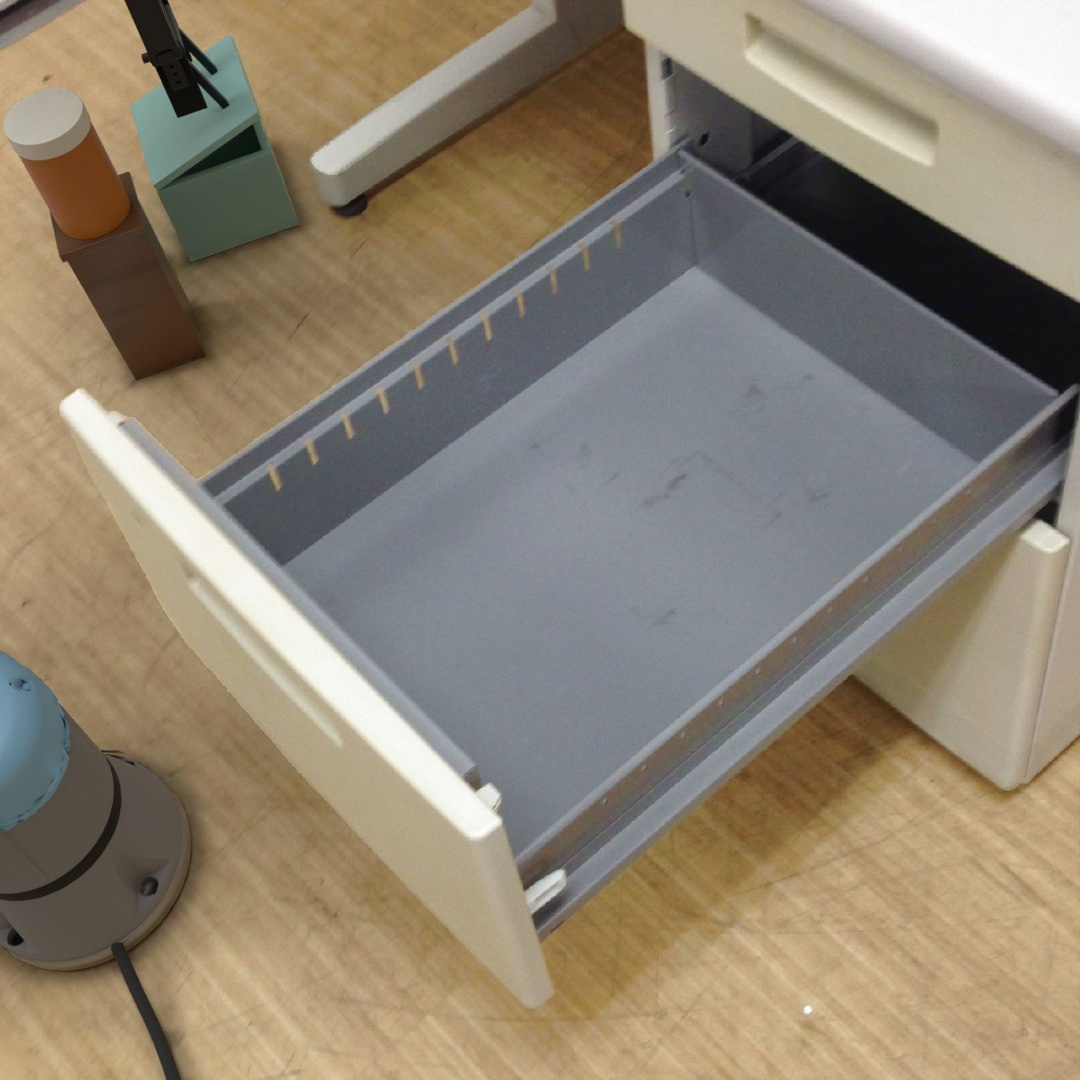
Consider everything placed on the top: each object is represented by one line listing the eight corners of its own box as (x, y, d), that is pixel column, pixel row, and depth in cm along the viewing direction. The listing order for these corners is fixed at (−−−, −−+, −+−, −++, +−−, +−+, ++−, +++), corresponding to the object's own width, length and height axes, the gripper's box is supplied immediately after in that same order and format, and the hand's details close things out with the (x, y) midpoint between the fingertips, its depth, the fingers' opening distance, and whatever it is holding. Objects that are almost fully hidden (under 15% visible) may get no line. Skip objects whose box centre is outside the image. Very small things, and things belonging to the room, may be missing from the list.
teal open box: (272, 147, 147) (244, 74, 140) (299, 224, 140) (272, 152, 133) (167, 183, 146) (134, 112, 139) (190, 262, 140) (157, 192, 132)
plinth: (209, 357, 133) (143, 226, 120) (133, 384, 132) (58, 256, 119) (194, 303, 137) (128, 170, 124) (120, 329, 136) (46, 199, 123)
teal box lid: (234, 39, 137) (169, -32, 129) (262, 117, 130) (195, 47, 123) (135, 111, 139) (66, 45, 132) (158, 191, 132) (86, 126, 125)
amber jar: (138, 224, 120) (88, 127, 112) (63, 251, 119) (7, 154, 111) (125, 175, 123) (76, 77, 115) (52, 200, 123) (-3, 104, 115)
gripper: (148, -108, 108) (248, 140, 127) (106, -236, 118) (204, 10, 138) (47, -74, 107) (162, 169, 126) (14, -206, 118) (125, 37, 137)
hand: (184, 86), depth 132 cm, fingers closed on teal box lid, 6 cm apart
